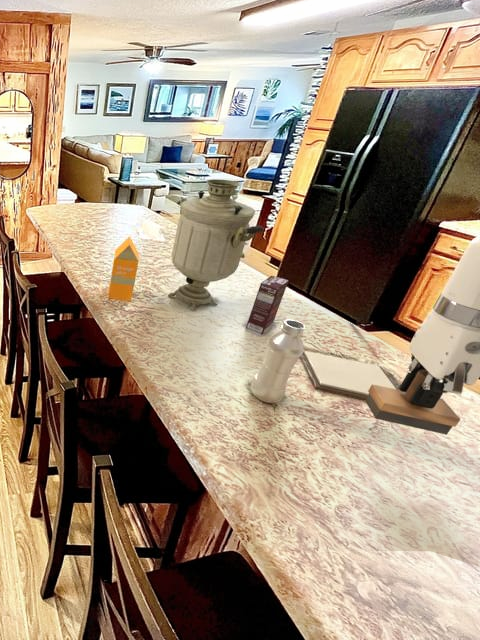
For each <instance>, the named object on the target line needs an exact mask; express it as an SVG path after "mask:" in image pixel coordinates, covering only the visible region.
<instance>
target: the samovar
mask: <svg viewBox="0 0 480 640" xmlns="http://www.w3.org/2000/svg"><path fill="white" fill-rule="evenodd" d="M206 183H207V185H208V189H207V192H208V195H207V196H204V195H205V194H206V192H205V191H202V190H200V191H198V192H197V194H198V197H197V198H191V199H187V198H185V199H183V200H178V201H177V202H176V205H178V206H179V207H180V210H179V218H178V221H177V222H178V223H177V227H176V233H175V236H174V241H173V245H172V251H171V262H172V264H173V266H174V268H175V269H176V270H177V271H178V272H180V274H182V275H183V276H184V277H185V278H186V279H185V282H186V284H182V285H180V286H178V288H177V289H176V290H175V291H173V292H170V293H168V294H167V297H168V298H172V297H177V298H179V299H181V300H182V301H184V302H187V303H188V304H189V305H190V307H189V308H188V309H189V310H190V311H191V312H197V307H198V306H199V305H205V304H209V303H211V304H213V305H214V306H215V307H217V306H218V303H217V301H215V300H214V299H213V297H212V294H211V292H209V291H208V289H207V287H208V286H209V285H210V283H213V282H219V281H221V280H224V279H227V278H229V277H230V276H232V275H233V274H234V273H236V271H237V269H238V267H239V265H240V262H241V259H245V258H246V256H245V253H244V252H243V251H244V248H245V246H248V245H249V243H248V241H250V240H252V239H253V238H254V237H255V234H256V233H261V232H263V231H264V229H265V228H264V227H263V226H262V225H259V224H257V225H255V226H254V225H252V226H250V222H251V220H252V219H253V218H254V216H255V215H256V210H255V209H254V208H253V207H251V206H249V205H247V204H245V203H242V202H239V201H236V200H234V199H233V198H231V197H232V196H234V195H235V192H236V188H238V187H240V186H241V183H240V182H238V181H235V180H230V179H220V178H219V179H217V178H216V179H215V178H214V179H213V178H212V179H206Z"/></svg>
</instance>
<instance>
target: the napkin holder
mask: <svg viewBox="0 0 480 640" xmlns="http://www.w3.org/2000/svg"><path fill="white" fill-rule="evenodd" d="M137 230H138V233H139V236H140V237H139V238H140V239H143V240H154V241H166V239H165V237H164V235H163V232H164V226H162V225H159V224H158V223H156V222H153V221H150V220H143V224H142V228H138V229H137Z"/></svg>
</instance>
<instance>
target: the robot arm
mask: <svg viewBox="0 0 480 640" xmlns="http://www.w3.org/2000/svg"><path fill="white" fill-rule="evenodd" d="M408 348H409V351H410V354H411V357H410V358H411V359H410V361H411V362H410V364H409V365H408V367H407V371H408V372H407V373H406V375H405V377H404V379H403V380H402V382H401V383H400V386H399V387H398V390H401V391H402V392H406V391H407V389H408V388H409V386H410V384H411V383H412V381H413V379H414V378H415V376H416V374H417V373H418V371H419V370H427V371H428V372H429V373H428V375H427V377H426V379H425V381H424V383H423V385H422V386H421V385H418V387H417V388H416V390H415V392H414V393H413V395H412V397H411V398H410V400H409V402H410V404H411V405H416V406H420V407H425V408H430V409H432V408H434V407H435V405H436V404H437V402H438V400H439V399H440V398H442V396H443V394H448V393H451V394H455V395H462V393H463V391H464V390H463V389H464V384H465V385H467V386H473V385H475V384H476V383H477V381H478V380H479V379H480V235H478V236H476V237H474V238H473V239H472V240H471V241H470V242H469V243H468V245H467V247H466V249H465V250H464V252H463V253H462V255H461V257H460V259H459V261H458V262H457V264H456V266H455V268H454V269H453V271H452V273H451V275H450V277H449V278H448V280H447V282H446V284H445V286H444V287H443V289H442V291H441V293H440V294H439V296H438V298H437V300H436V301H435V303H434V305H433V307H432V308H431V311H430V312H429V313H428V315H427V316H426V317H425V318H424V320H423V321H422V322H421V324H420V326H419V327H418V329H416V331H415V333H414V335H413V337H412V338H411V341H410V343H409V346H408ZM436 379H439V380H440V382H435V380H436Z"/></svg>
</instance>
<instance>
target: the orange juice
mask: <svg viewBox="0 0 480 640" xmlns="http://www.w3.org/2000/svg"><path fill="white" fill-rule="evenodd" d="M139 254H140V253H139V251H138V249H137V247H136V246H135V244H134V242H133V239H132V238H131V236H130V235H129V236H128V237H127V238H126V239H125V240H124V241H123V242H122V243H121V244H120V245H119V246H118V247H116V249H115V250H114V256H113V263H112V266H111V267H112V268H111V275H110V282H109V287H108V295H107V298H108V299H113V300H117V301H118V300H119V301H125V302H132V299H133V292H134V288H135V283H136V276H137V272H138V267H139V263H140V257H139Z"/></svg>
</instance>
